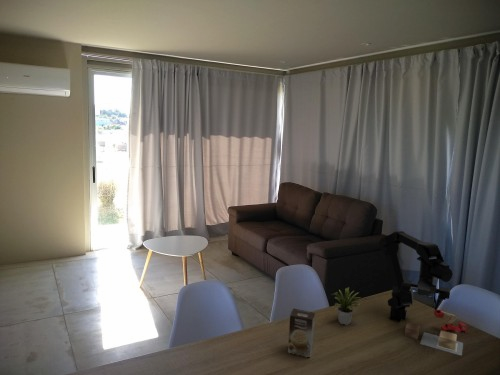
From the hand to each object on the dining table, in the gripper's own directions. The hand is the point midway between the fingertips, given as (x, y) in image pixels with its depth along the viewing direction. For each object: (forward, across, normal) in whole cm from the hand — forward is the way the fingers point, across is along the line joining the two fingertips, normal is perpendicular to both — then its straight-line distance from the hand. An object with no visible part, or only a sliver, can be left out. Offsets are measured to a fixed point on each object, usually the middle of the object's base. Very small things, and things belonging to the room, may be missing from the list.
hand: (423, 307), depth 164 cm
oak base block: (+11, +10, -5) cm, 16 cm away
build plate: (+12, +8, -5) cm, 16 cm away
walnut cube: (+12, -3, -5) cm, 14 cm away
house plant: (+13, -32, -9) cm, 35 cm away
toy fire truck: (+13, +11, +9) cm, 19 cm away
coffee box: (+13, -40, -41) cm, 58 cm away
